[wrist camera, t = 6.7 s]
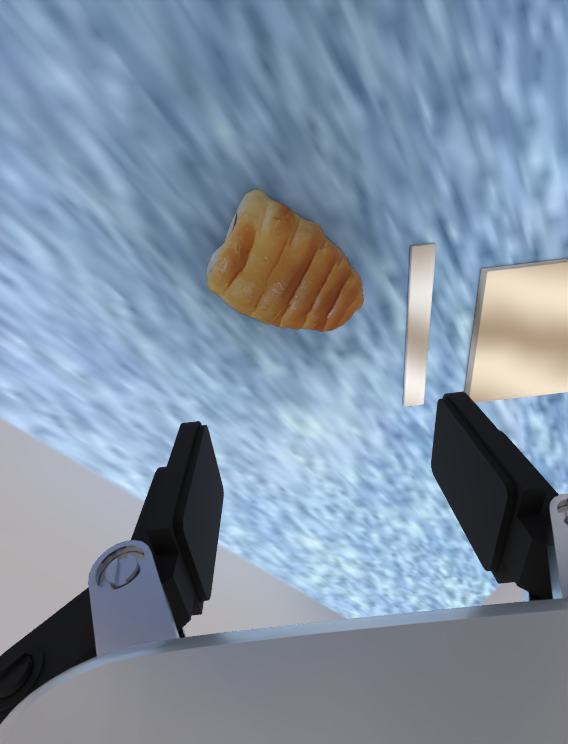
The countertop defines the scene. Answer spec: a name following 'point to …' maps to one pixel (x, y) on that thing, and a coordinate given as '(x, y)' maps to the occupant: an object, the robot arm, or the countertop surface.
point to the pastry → (283, 269)
